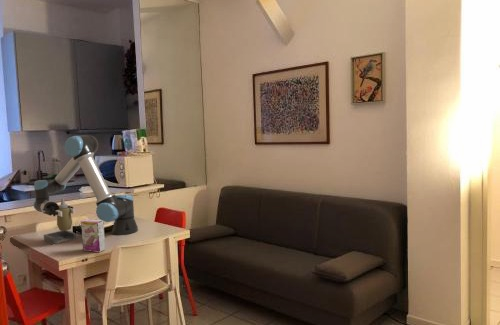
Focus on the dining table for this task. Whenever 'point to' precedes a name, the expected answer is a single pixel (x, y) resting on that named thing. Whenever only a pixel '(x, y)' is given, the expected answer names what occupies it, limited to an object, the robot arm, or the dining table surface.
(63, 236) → the dark grey tray
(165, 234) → the dining table surface
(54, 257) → the dining table surface
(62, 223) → the squeeze bottle
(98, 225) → the candy bar box
